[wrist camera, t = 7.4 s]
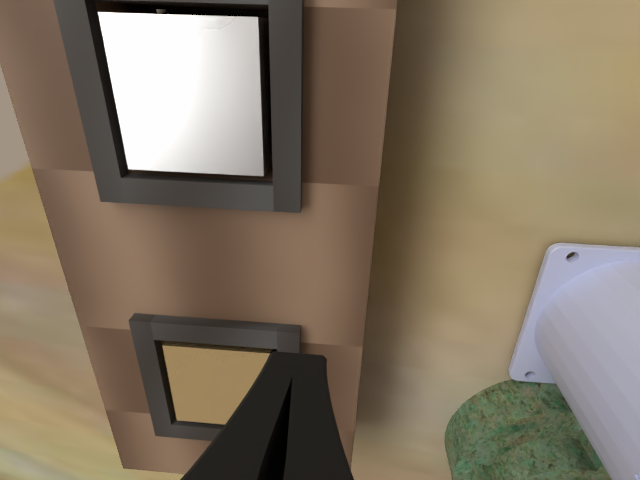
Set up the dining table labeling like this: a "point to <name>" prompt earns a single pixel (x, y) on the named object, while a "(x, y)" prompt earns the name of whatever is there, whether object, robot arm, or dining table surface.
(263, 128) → the steel peg
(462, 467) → the decorative artifact
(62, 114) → the walnut board
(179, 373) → the brass peg
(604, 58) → the dining table surface
